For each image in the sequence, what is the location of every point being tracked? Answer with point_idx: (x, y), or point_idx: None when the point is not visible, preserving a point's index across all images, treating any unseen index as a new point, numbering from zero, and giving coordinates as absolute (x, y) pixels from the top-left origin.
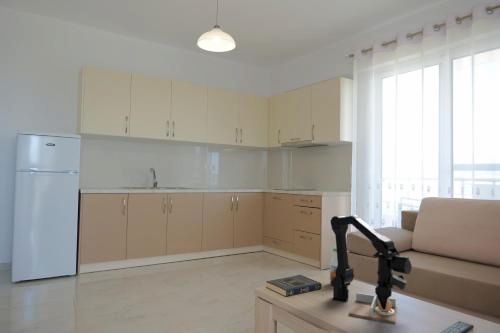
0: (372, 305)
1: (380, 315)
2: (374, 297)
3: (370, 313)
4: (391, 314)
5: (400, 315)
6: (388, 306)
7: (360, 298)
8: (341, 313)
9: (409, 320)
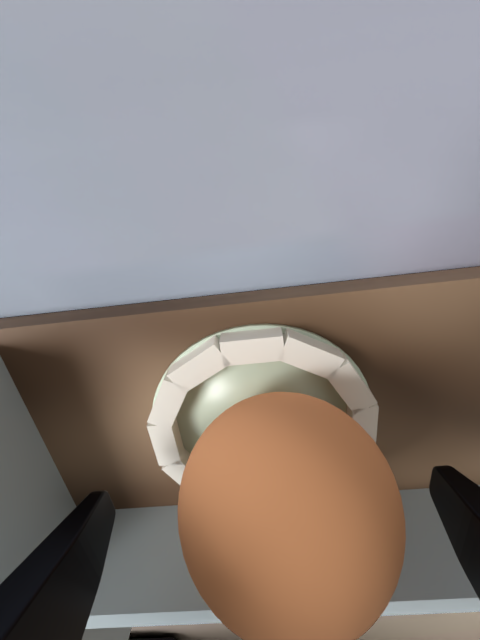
0: (453, 605)
1: (410, 436)
2: (97, 624)
3: None
4: (337, 347)
5: (182, 246)
6: (380, 460)
7: (113, 634)
8: (424, 616)
9: (309, 89)
